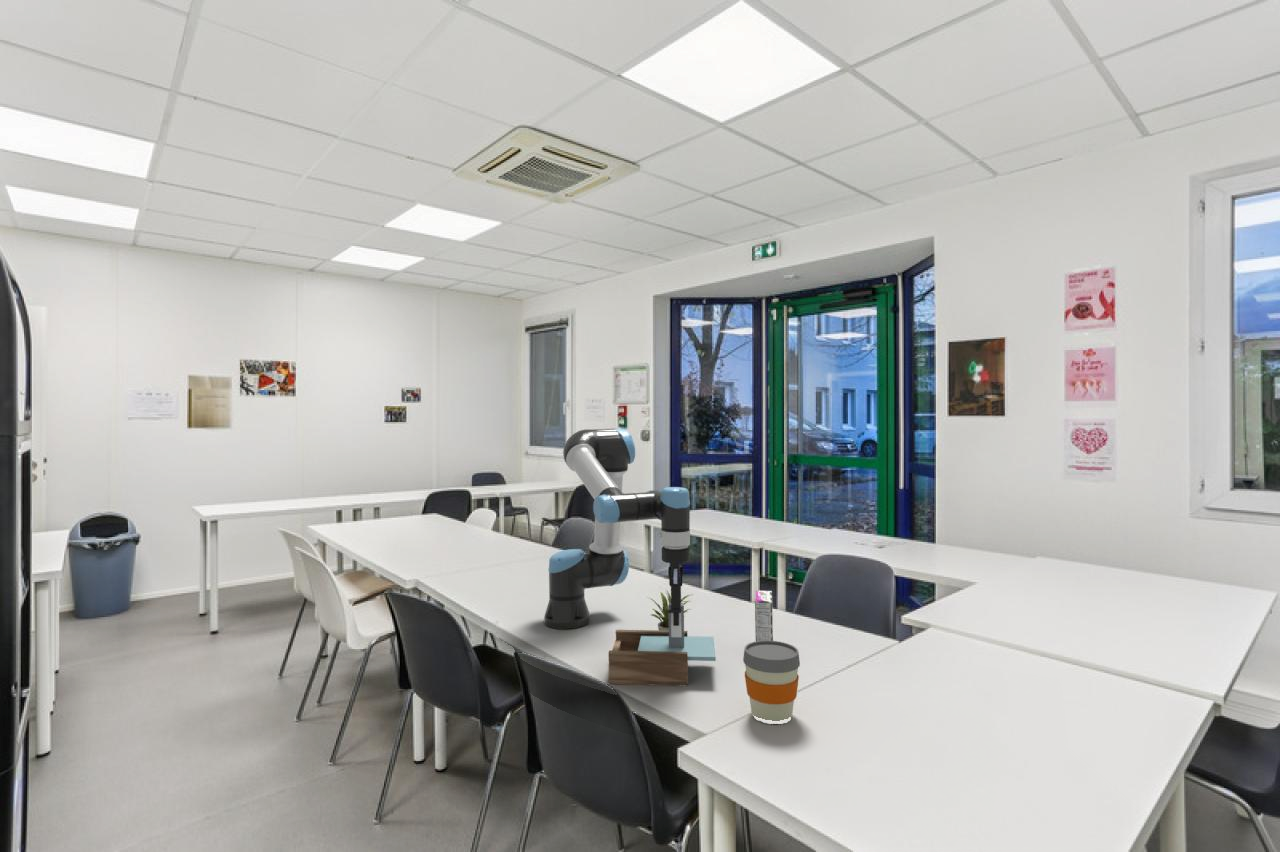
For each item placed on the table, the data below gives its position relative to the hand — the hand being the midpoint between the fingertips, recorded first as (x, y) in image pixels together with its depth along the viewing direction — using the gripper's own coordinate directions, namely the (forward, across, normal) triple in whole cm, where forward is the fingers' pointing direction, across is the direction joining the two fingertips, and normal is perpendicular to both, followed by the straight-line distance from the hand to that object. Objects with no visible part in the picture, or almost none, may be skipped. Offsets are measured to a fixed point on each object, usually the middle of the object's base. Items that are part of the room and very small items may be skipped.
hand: (676, 634), depth 168 cm
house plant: (+10, -20, -1) cm, 23 cm away
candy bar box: (+11, -16, +25) cm, 31 cm away
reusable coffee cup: (+11, +23, +22) cm, 33 cm away
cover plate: (+4, 0, 0) cm, 4 cm away
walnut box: (+10, 0, -7) cm, 13 cm away
